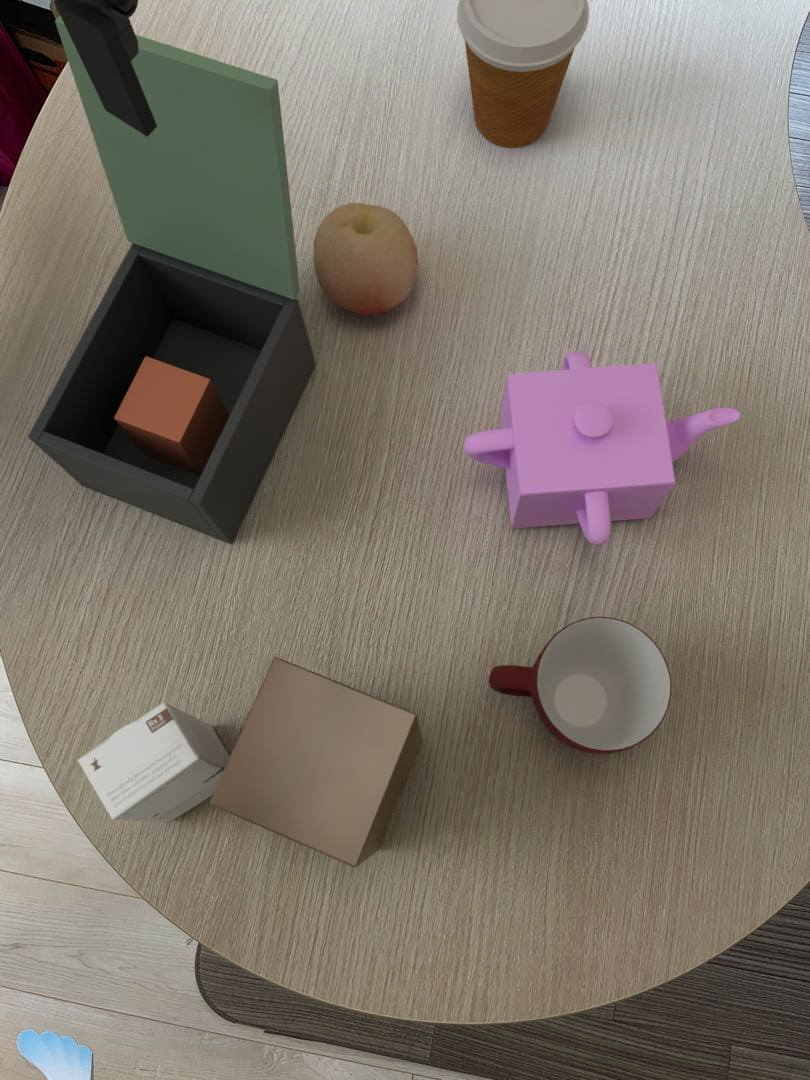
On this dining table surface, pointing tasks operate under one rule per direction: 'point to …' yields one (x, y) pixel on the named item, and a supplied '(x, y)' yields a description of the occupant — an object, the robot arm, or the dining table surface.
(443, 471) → the dining table surface
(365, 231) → the fruit
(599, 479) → the teapot
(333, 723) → the stand
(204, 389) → the block
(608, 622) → the mug
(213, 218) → the bin lid
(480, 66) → the disposable coffee cup
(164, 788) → the cosmetic box
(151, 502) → the bin
